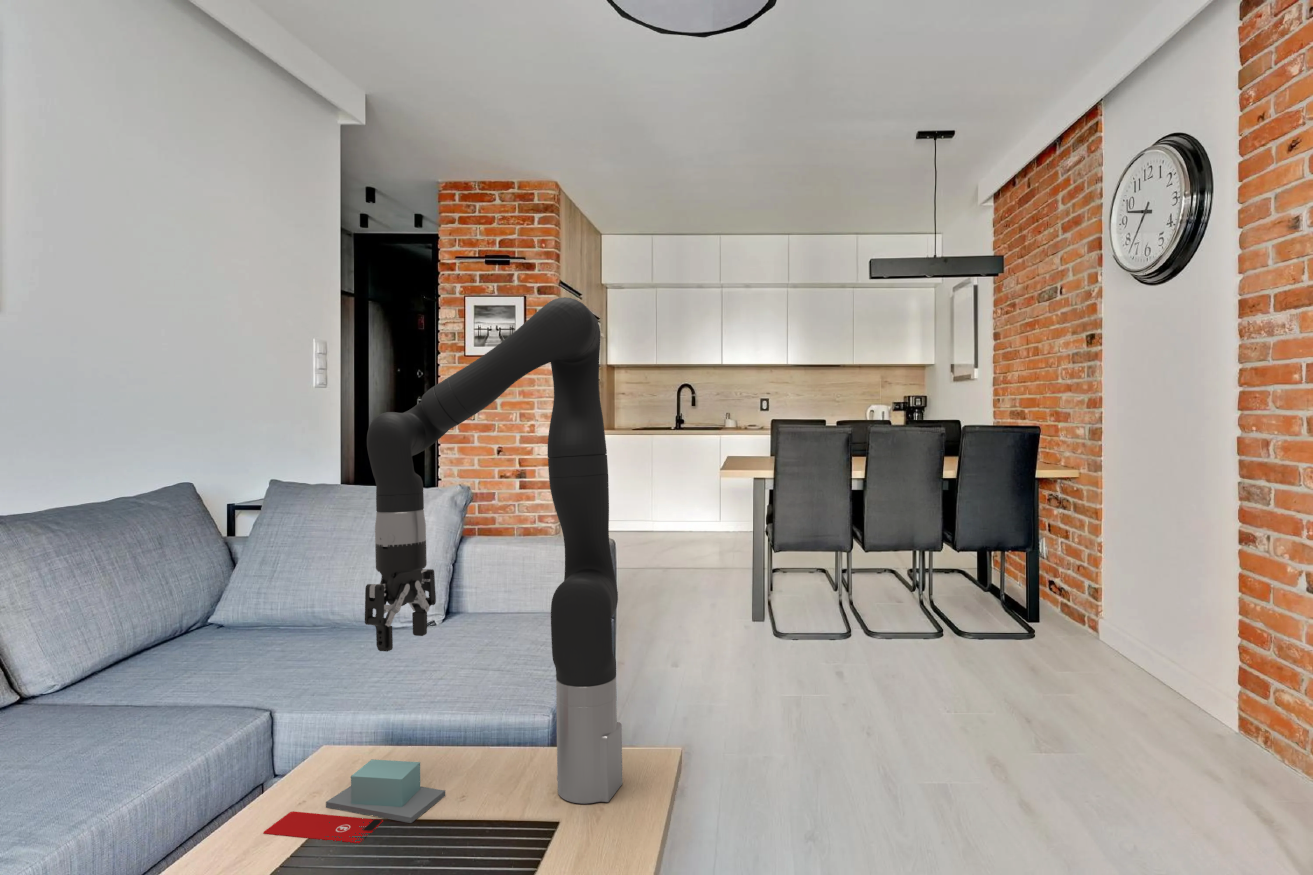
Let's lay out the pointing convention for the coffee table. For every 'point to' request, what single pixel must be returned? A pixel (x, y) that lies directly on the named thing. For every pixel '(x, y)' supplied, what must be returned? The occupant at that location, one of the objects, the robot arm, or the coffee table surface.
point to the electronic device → (322, 826)
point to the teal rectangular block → (385, 783)
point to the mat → (405, 814)
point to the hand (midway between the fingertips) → (403, 642)
